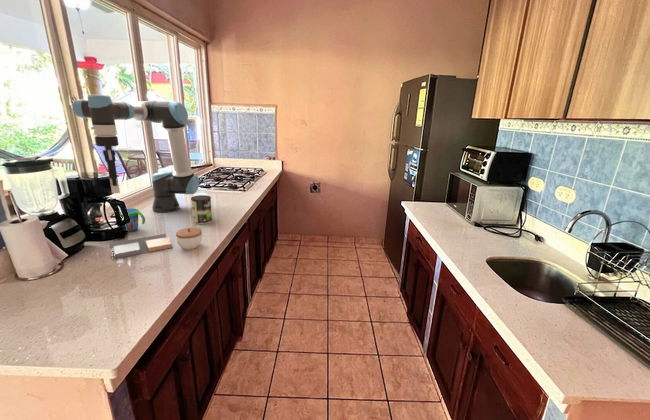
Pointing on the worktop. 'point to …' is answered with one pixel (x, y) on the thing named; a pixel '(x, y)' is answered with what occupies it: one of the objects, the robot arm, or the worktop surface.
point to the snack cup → (133, 219)
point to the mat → (141, 244)
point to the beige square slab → (158, 244)
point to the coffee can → (201, 209)
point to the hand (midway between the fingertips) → (116, 192)
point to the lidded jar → (189, 238)
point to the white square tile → (126, 250)
